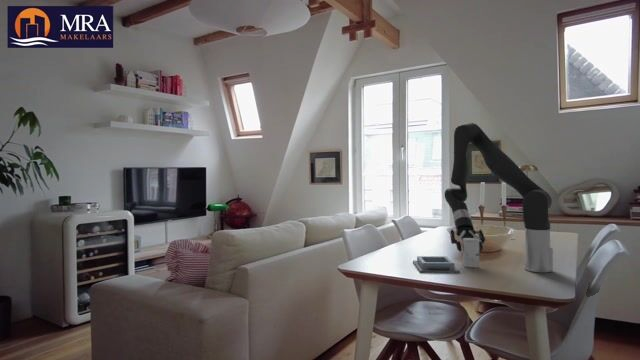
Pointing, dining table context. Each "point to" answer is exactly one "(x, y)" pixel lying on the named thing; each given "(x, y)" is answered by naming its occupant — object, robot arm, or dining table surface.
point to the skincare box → (470, 252)
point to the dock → (435, 264)
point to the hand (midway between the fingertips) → (470, 250)
